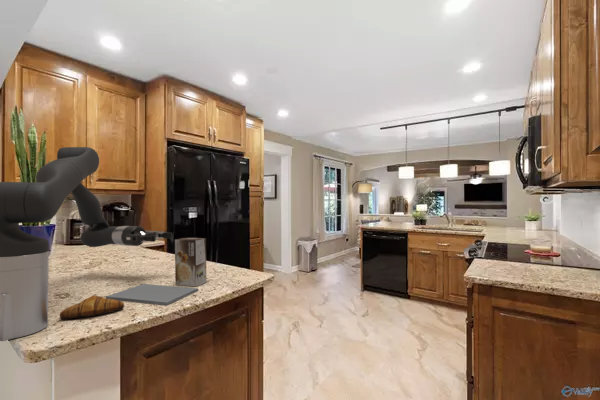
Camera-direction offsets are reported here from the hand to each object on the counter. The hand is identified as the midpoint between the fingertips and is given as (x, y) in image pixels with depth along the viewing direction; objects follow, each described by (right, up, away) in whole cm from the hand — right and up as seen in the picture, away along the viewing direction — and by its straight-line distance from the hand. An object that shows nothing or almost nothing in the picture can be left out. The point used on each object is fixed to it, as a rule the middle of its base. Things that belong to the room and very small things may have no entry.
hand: (163, 236), depth 105 cm
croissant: (-3, -16, -32) cm, 36 cm away
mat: (+5, -16, -16) cm, 23 cm away
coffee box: (+12, -16, -4) cm, 20 cm away
